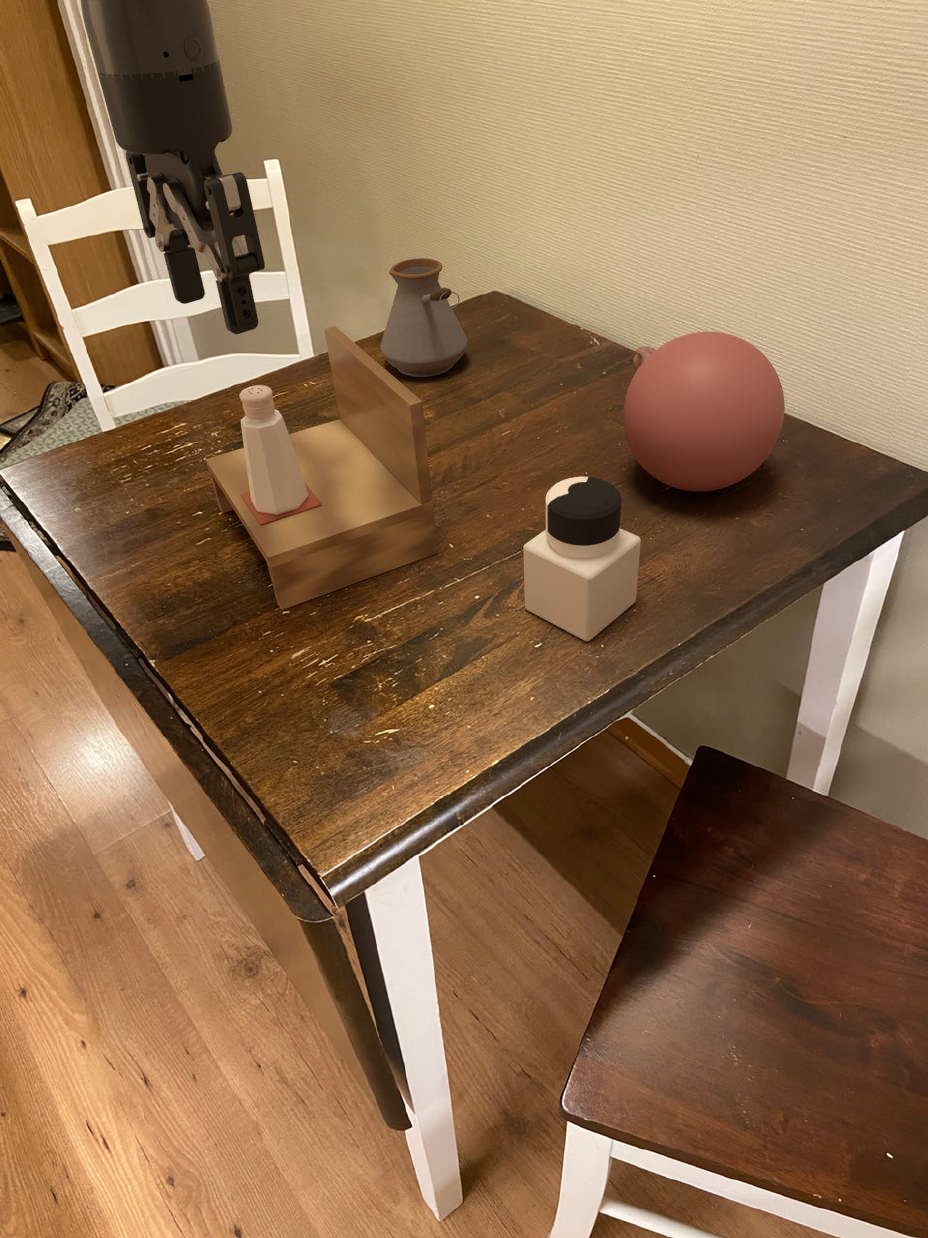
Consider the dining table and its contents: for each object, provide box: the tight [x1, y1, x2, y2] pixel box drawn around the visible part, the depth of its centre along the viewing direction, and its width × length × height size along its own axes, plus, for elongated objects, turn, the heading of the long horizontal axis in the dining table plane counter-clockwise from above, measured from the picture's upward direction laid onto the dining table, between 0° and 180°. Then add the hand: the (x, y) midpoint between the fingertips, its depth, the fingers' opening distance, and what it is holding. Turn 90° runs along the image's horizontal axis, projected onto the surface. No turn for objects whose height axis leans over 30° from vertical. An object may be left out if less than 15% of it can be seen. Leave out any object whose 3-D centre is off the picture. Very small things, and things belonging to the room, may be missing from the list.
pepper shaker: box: [238, 384, 309, 515], centre depth 79 cm, size 5×5×11 cm
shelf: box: [205, 325, 439, 611], centre depth 84 cm, size 16×20×16 cm
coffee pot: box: [379, 257, 468, 378], centre depth 109 cm, size 21×12×15 cm, turn 17°
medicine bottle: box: [523, 476, 642, 642], centre depth 74 cm, size 7×7×12 cm
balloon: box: [622, 331, 786, 493], centre depth 89 cm, size 15×20×15 cm
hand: (216, 314), depth 65 cm, fingers open, 8 cm apart
